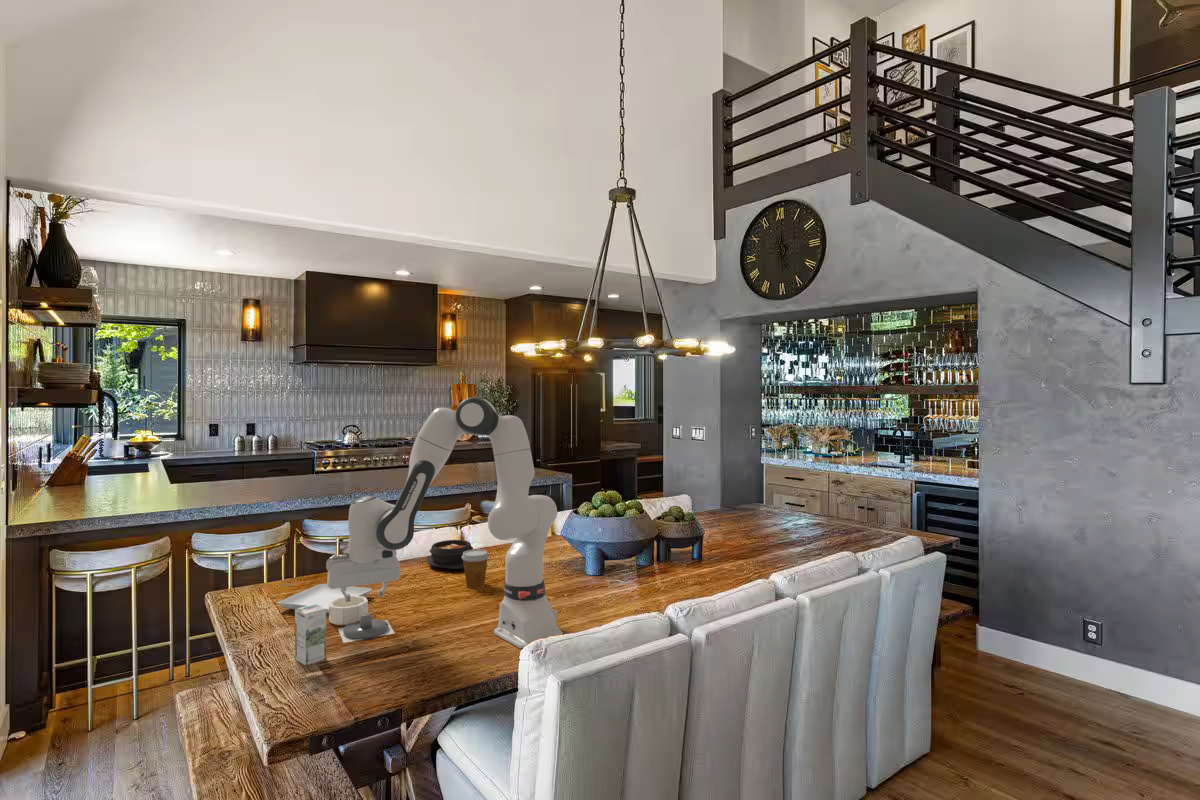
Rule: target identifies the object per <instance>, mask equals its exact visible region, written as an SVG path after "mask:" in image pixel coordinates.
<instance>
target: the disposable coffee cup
mask: <svg viewBox="0 0 1200 800" xmlns="http://www.w3.org/2000/svg"><path fill="white" fill-rule="evenodd" d="M489 556H490V554H489V553H488V551H487V550H485V549H473V550H468V551H465V552H463V556H462V559H463V563H464V568H463V571H464V576H465V577H464V578H465V582H466V583H465V584H466V587H467V588H468V587H470V588H469V589H479V588H478V587H480V588H483V587H484V586H485V582H486V575H487V566H488V558H489ZM482 586H483V587H482Z"/></svg>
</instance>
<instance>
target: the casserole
mask: <svg viewBox="0 0 1200 800" xmlns="http://www.w3.org/2000/svg"><path fill="white" fill-rule="evenodd" d="M468 550H474V548H473V546H472V544H471V542H470V541H468V540H461V539H447V540H441V541H437V542H435V543H433V544H432V545H431V548H430V549H429V553H430V555H428V556H427V557H426V560H427V564H428V565H430V566H432V567H436V568H440V569H444V568H445V569H447V570H448V569H450V570H458V569H459V570H460V569H464V563H463V559H462V556H463V552H465V551H468Z"/></svg>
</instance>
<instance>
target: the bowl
mask: <svg viewBox="0 0 1200 800" xmlns="http://www.w3.org/2000/svg"><path fill="white" fill-rule="evenodd" d="M350 597H351V598H350V600H351V601H349V602H345V600H344V597H341V598H337V599H335V600H333V601H331V602H329V613H328V619H329V622H330V623H331V624H333V625H335V626H347V625H348V624H350V623H353V622H356V621H360V615H361V614H363V613H369V601H368V598H367V597H366V596H365V597H363V596H350Z"/></svg>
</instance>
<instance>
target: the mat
mask: <svg viewBox="0 0 1200 800" xmlns="http://www.w3.org/2000/svg"><path fill="white" fill-rule="evenodd" d="M384 621H386V622H387V623H388V631H387V632H385V633H384V634H382V635H380V636H377V637H376V638H378V637H383V636H390V635H394V634H396V633H395V631H394V629H393V628H392V626H391V624H390V622H389V621H388V620H387V619H386V620H384ZM343 629H344V627H339V628H337V630H338V633H339V636H340V638H341V640H342V642H343V644H346V643H351V642H357V641H362V640H364V639H350V638H347V637H345V636H344V634H343Z"/></svg>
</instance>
